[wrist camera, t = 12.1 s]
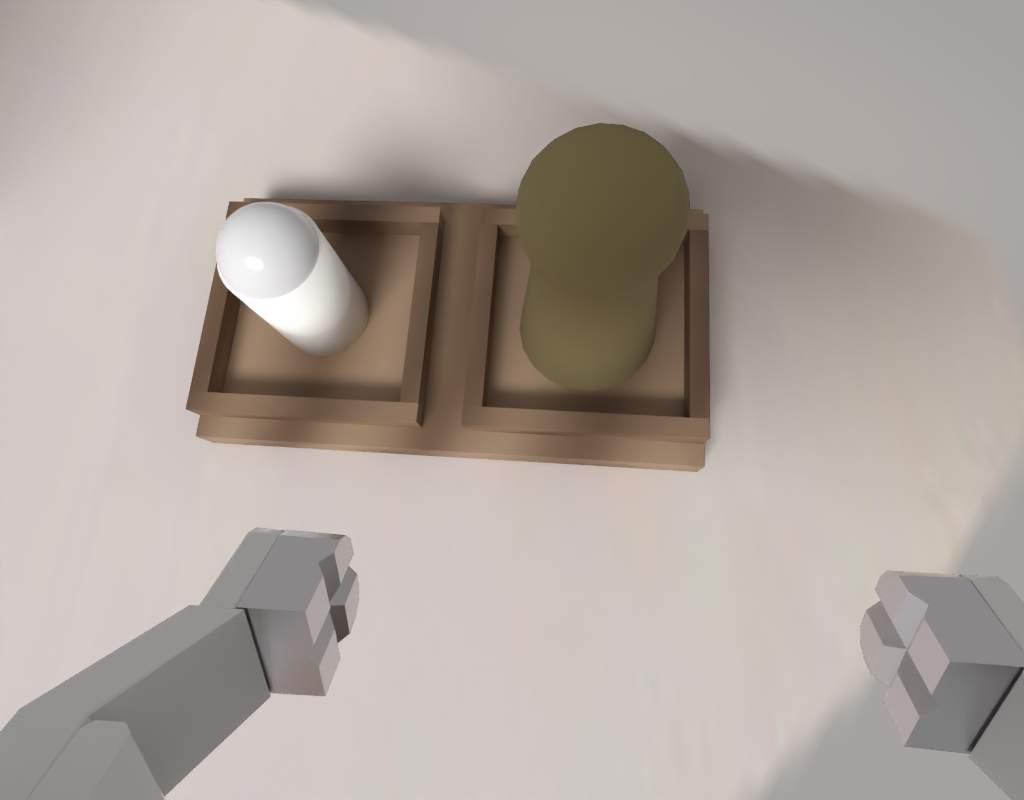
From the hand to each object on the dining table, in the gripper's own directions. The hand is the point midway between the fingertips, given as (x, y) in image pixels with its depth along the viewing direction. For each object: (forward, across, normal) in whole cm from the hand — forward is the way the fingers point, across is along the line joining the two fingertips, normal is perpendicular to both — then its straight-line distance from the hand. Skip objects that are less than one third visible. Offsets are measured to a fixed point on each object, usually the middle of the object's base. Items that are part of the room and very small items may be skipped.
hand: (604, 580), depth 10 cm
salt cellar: (+19, +12, +4) cm, 23 cm away
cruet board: (+20, +6, +5) cm, 21 cm away
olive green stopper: (+19, 0, +4) cm, 19 cm away
